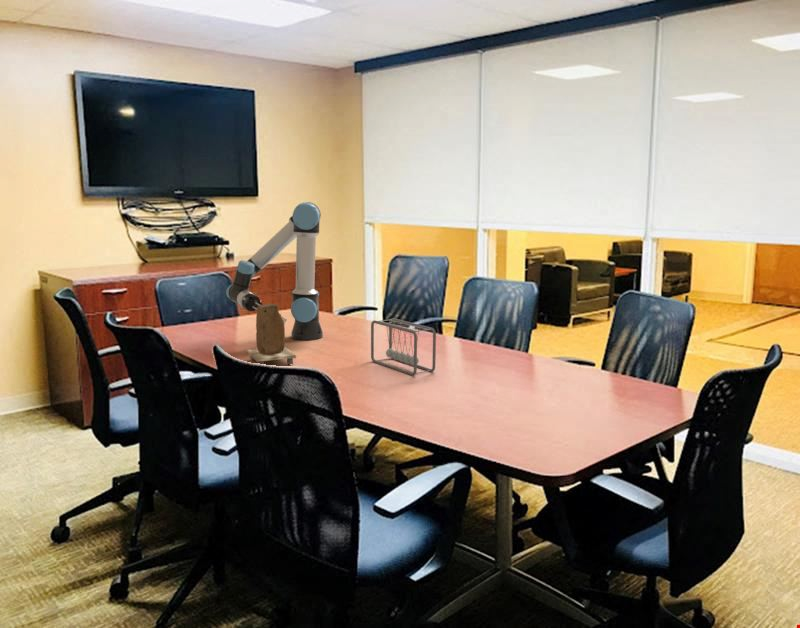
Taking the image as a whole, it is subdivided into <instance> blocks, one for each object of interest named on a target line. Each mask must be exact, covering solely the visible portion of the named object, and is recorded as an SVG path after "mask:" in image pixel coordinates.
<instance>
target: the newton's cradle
mask: <svg viewBox="0 0 800 628" xmlns="http://www.w3.org/2000/svg"><path fill="white" fill-rule="evenodd" d="M387 321H389V322H387ZM375 324H377V325H380V326H383V327H386V328H388V329H386V331H387V334H388V336H387V339H388V348H387V350H386V351H385V355H386V357H387V358H383V359H377V360H376V359H375V353H374V352H375V350H374V349H375V347H374V343H375V341H374V338H375V337H374V335H375V334H374V333H375V332H374V331H375V330H374V328H375ZM397 324H400V325H397ZM404 325H405V326H406V327H405V326H404ZM403 326H404V327H403ZM407 326H409V327H412V328H409V327H407ZM416 329H418V330H416ZM396 330H397V332H398V337H399V338H398V343H397V345H400V348H402V344H401V343H400V341H401V339H400V336H401V334H400V333H401V331H403V332H405V333H403V335H404V336H403V337H404V342H403V345H406V344H407V341H406V337H407V336H406V335H407V334H406V333H409V334H412V335H409V338H410V339H412V338H413V344H412V341H410V344H409V345H410V346H413V348H411V347H409V349H408V348H407V346H405V347H403V349H402V350H400V351H399V347H397V348H396V346H394V348H395V350H394V349H393V343H394V344H396V343H395V341H396V340H395V339H393V338H395V333H393V332H395V331H396ZM424 331H431V332H432V367H431V368H428V367H426V366H423V365H420V364H419V358H418V338H419V336H418V334H419V332H424ZM388 332H389V333H388ZM436 332H437V331H436V330H435V329H434V327H430V326H426V325H422V324H420V323H419V324H418V323H415V322H410V321H406V320H403V319H398V318H395V317H392V318H390V319H383V320H375V319H374V320H372V321H371V323H370V358H371V361H372V363H375V362H376V363H375V364H377V363H379V364H378V365H380V364H382V365H381V366H383V365H384V367H386V366H387V367H386V368H389V367H390V368H389V369H392V368H393V369H392V370H395V371H398V372H400V371H401V373H403V372H404V374H407V375H409V376H415V375H417V374H422V373H423V374H424V373H427V372H428V373H429V371H430V373H433V372H434V371H436V355H437V353H436V352H437V351H436V350H437V349H436V347H437V344H436V343H437V333H436ZM393 341H394V342H393ZM404 349H406V351H408V352H410V351H411V350H412V353H413V355H411V354H410V353H405V352H404V351H405V350H404ZM410 349H411V350H410ZM393 359H394V360H393ZM386 360H393V361H396V360H397V361H396V362H399V361H400V363H402V362H403V363H402V364H405V363H406V364H405V365H408V364H409V366H411V365H412V366H411V367H413V372H412V371H409V370H406V369H403V368H401V367H400V368H399V367H398V366H394V365H391V364H389V363H386V362H382V361H386ZM417 367H418V368H417ZM420 368H421V370H423V369H424V370H423V371H419V372H417V369H420Z"/></svg>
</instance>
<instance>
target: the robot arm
mask: <svg viewBox="0 0 800 628" xmlns="http://www.w3.org/2000/svg"><path fill="white" fill-rule="evenodd" d="M321 214H322V213H321V211H320V208H319V207H318V206H317V205H316V204H315V203H312V202H310V201H309V202H307V201H306V202H302V203H299V204H297V206H295V208H294V209H293V211H292V215H291V216H290V217H289V219H288V222H287V223H286V224H285V225H284V226H282V228H281V229H280V230H279V231H277V232H276V233H275V235H273V236H272V237H271V238H270V239H269V240H267V242H266V243H265V244H264V245H263V246H261V247H260V248H259V249H258V250H257V251H256V252H255V253H254V254H253V255H252V256H251V257H250V258H249V259H248V260H243V259H242V260H239V261H238V264H237V266H236V270H235V273H234V279H233V281H232V284H230V285H228V287H227V288H226V291H225V295H226V296H227V298H228V299H229V300H230V301H232V303H233V302H234V303H235V304H237V305H238V306H239V307H240V308H241V309H245V310H247V311H248V312H254V311H256V312H257V306H259V305H264V304H263V303H262V302H261V299H260V297H259V296H258V295H256V294H254V293H252V292H251V291H250V290H249V289H250V285H251V282H252V279H253V278H255V277H256V276H257V274H259V273H260V272H261V270H263V269H264V268H265V267H266V266H267V265H268V264H269V263H270V262H271V261H273V259H275V258H276V257H277V256H278V255H279V254H280V253H282V252H283V250H285V248H286V247H287V246H289V245H290V244H291V243H292V242H293V241H294V240H295V239H296V248H295V249H296V250H295V251H296V254H295V258H296V259H295V260H296V261H295V289H293V290H292V293H291V296H292V297H291V306H290V313H291V316H292V318H294V324H293V326H292V330H291V332H290V333H291V334H290V335H291V336H290V337H291V339H294V340H299V341H314V340H319V339H322V338H324V337H323V336H324V335H323V329H322V326H321V324H320V323H321V322H320V303H319V302H320V301H319V298H320V294H319V291H318V290H316V289H315V281H316V280H315V279H316V278H315V277H316V276H315V274H316V242H317V241H316V239H317V238H316V237H317V236H318V235H319V234H320V221H321V217H322V215H321ZM281 317H282V319H283V321H284V325H285V324H286V323H287V320H288V319H286V318H285V317H283V316H282V315H281Z"/></svg>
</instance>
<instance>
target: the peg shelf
mask: <svg viewBox="0 0 800 628" xmlns="http://www.w3.org/2000/svg"><path fill="white" fill-rule="evenodd" d="M247 353H248V355H250V361H251V360H252V361H254V362H257V364H258V363H260V364H264V365H265V362H268V361H275V360H276V361H277V360H286V365H287V364H293V365H294V359H296V358H297V354H295V353H294V352H293V351H292V350H290V349H289V348H288V347H286V346H284V349H283V351H282V352H279V353H275V354H261V353H260V352H259V351H258V349H257V348H254V349H253V348H252V349H247ZM255 360H256V361H255ZM252 361H251V362H252Z"/></svg>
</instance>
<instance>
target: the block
mask: <svg viewBox="0 0 800 628" xmlns="http://www.w3.org/2000/svg"><path fill="white" fill-rule="evenodd" d="M279 309H280V308H279V305H278V304H277V303H269V304H268V303H266V304H265V303H264V304H263V305H259V306H257V311H256V323H255V324H256V325H255V326H256V327H255V328H256V333H255V341H256V349H258V351H259V352H260V353H261V354H275V353H279V352H282V351H283V349H284V347H286V343H285V342H286V333H285V331H286V329H285V328H286V327H285V324H284V321H283V319H282V317H283V316H282V314H281V313H280V312H279ZM281 316H282V317H281Z"/></svg>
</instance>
